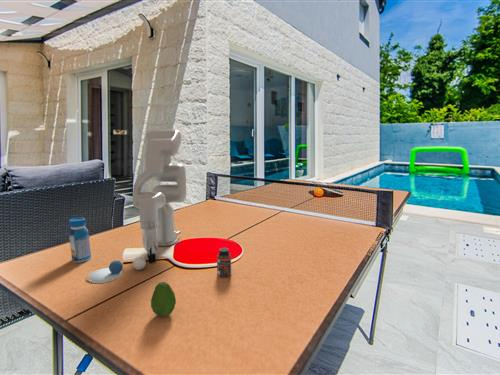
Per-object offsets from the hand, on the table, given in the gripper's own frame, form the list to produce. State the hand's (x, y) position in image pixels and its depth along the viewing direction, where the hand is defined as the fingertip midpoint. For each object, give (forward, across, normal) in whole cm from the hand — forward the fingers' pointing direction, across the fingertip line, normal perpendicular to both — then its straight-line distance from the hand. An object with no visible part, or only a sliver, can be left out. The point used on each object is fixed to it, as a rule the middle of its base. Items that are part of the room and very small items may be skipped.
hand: (152, 262), depth 146 cm
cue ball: (-1, +1, -6) cm, 6 cm away
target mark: (+2, 0, -20) cm, 20 cm away
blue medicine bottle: (+2, -24, -28) cm, 37 cm away
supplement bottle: (+2, +24, +25) cm, 35 cm away
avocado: (+2, +41, -4) cm, 42 cm away
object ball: (-1, 0, -15) cm, 15 cm away
